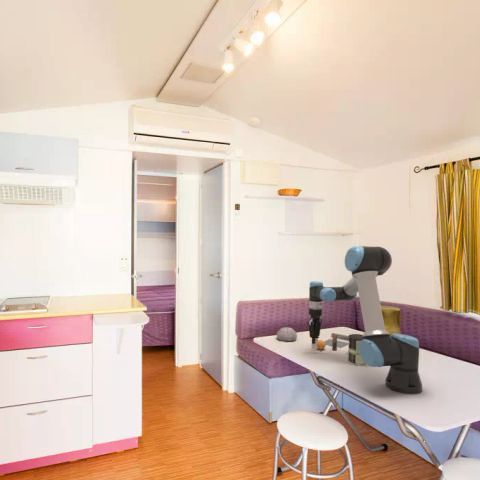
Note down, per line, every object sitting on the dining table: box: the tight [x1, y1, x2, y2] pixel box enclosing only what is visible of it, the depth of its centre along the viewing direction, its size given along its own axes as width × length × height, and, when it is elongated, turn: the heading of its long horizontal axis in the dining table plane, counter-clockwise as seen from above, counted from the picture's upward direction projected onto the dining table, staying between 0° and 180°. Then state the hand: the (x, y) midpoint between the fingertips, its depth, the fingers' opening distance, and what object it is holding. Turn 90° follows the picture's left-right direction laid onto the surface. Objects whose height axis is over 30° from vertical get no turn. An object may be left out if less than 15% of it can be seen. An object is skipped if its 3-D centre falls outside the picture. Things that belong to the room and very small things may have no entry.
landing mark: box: [323, 338, 349, 349], centre depth 244 cm, size 14×14×1 cm
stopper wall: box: [330, 332, 349, 342], centre depth 254 cm, size 2×18×2 cm, turn 51°
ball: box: [317, 339, 327, 350], centre depth 229 cm, size 6×6×6 cm
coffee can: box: [347, 333, 368, 367], centre depth 206 cm, size 10×10×14 cm
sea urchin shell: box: [276, 326, 298, 342], centre depth 250 cm, size 13×14×8 cm
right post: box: [331, 333, 338, 352], centre depth 229 cm, size 3×3×9 cm
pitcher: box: [381, 305, 402, 338], centre depth 239 cm, size 17×19×25 cm
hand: (314, 349), depth 223 cm, fingers closed
